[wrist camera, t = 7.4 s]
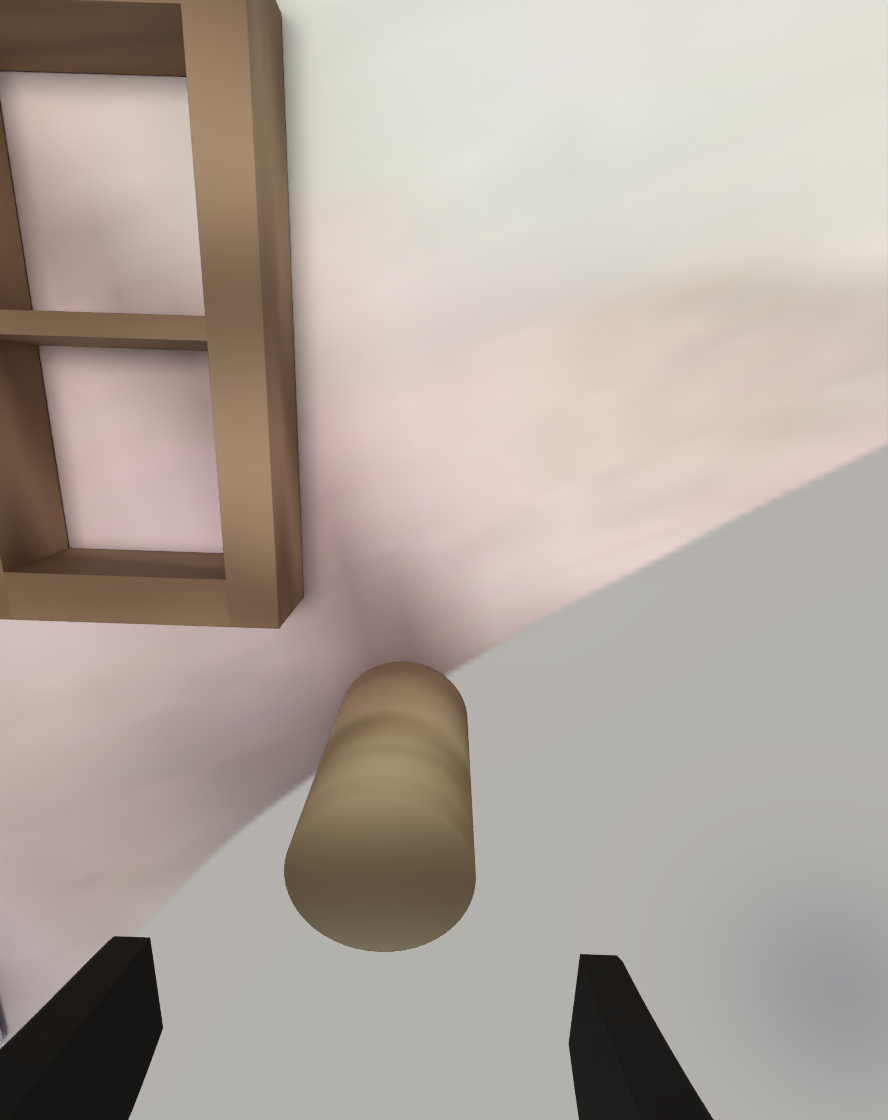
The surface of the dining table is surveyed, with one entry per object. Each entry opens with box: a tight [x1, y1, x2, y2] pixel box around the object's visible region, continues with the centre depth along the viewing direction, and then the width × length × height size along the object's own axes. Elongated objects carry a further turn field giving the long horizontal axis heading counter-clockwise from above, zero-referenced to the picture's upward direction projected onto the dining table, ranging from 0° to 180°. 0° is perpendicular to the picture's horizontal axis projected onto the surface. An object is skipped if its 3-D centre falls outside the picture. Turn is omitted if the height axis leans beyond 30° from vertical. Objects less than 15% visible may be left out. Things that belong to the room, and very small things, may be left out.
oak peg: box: [284, 662, 476, 952], centre depth 14 cm, size 4×4×6 cm
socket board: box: [0, 0, 304, 629], centre depth 13 cm, size 14×8×2 cm, turn 178°
